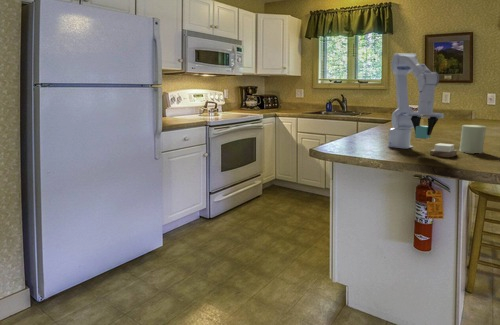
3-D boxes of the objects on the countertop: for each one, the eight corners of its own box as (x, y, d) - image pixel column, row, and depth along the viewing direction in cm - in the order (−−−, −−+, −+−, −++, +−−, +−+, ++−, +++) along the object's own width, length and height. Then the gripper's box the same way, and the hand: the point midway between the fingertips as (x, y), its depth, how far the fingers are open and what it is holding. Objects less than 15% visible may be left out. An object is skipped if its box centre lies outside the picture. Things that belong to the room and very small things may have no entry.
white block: (434, 150, 156) (434, 144, 155) (438, 148, 160) (439, 143, 160) (449, 152, 152) (450, 146, 151) (453, 150, 156) (454, 144, 156)
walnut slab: (429, 156, 157) (430, 150, 156) (436, 153, 162) (437, 148, 162) (450, 158, 151) (450, 152, 151) (456, 156, 157) (456, 150, 156)
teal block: (414, 137, 157) (415, 126, 156) (419, 136, 160) (420, 125, 159) (425, 138, 153) (426, 127, 152) (429, 137, 156) (431, 126, 155)
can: (483, 154, 158) (486, 126, 156) (458, 152, 163) (461, 125, 160) (482, 151, 166) (486, 124, 163) (459, 149, 171) (462, 123, 168)
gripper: (404, 101, 156) (401, 133, 159) (440, 102, 146) (437, 137, 148) (411, 101, 161) (408, 132, 163) (447, 102, 150) (443, 135, 153)
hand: (422, 134), depth 156 cm, fingers closed on teal block, 4 cm apart
